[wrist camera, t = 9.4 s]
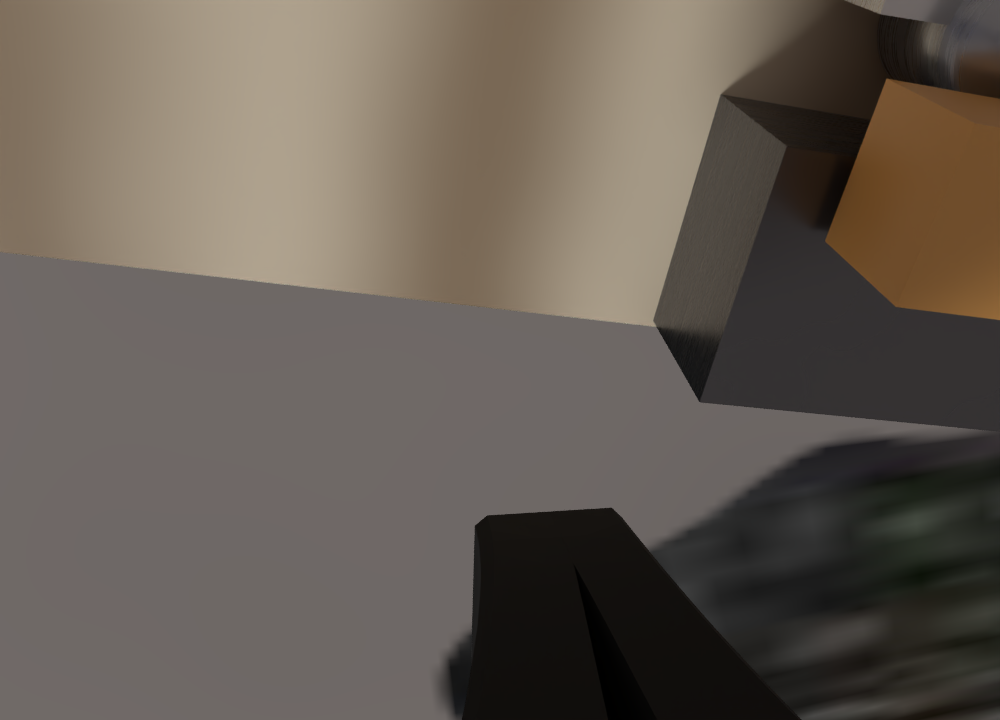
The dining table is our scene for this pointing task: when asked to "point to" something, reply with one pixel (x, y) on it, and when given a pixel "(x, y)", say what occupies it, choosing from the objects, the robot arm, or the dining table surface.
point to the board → (397, 136)
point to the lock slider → (926, 201)
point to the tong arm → (940, 43)
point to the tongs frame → (806, 288)
